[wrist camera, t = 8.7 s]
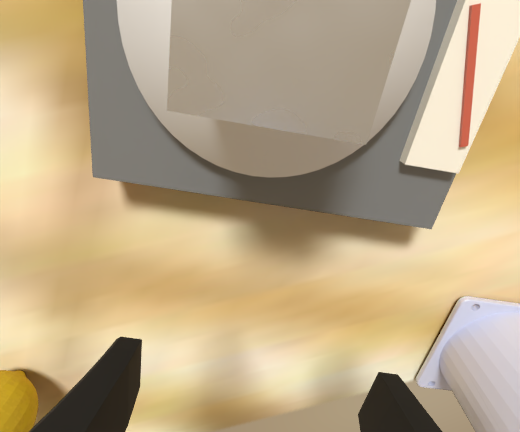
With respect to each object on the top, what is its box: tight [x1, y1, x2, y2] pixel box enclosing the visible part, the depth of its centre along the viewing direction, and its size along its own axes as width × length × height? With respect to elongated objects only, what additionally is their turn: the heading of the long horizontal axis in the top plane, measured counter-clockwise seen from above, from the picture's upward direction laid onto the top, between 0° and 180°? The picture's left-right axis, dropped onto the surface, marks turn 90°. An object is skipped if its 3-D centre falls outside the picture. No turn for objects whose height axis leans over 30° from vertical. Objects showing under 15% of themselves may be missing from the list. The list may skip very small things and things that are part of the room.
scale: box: [83, 0, 520, 229], centre depth 13 cm, size 16×14×3 cm
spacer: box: [167, 0, 411, 145], centre depth 9 cm, size 4×4×6 cm
